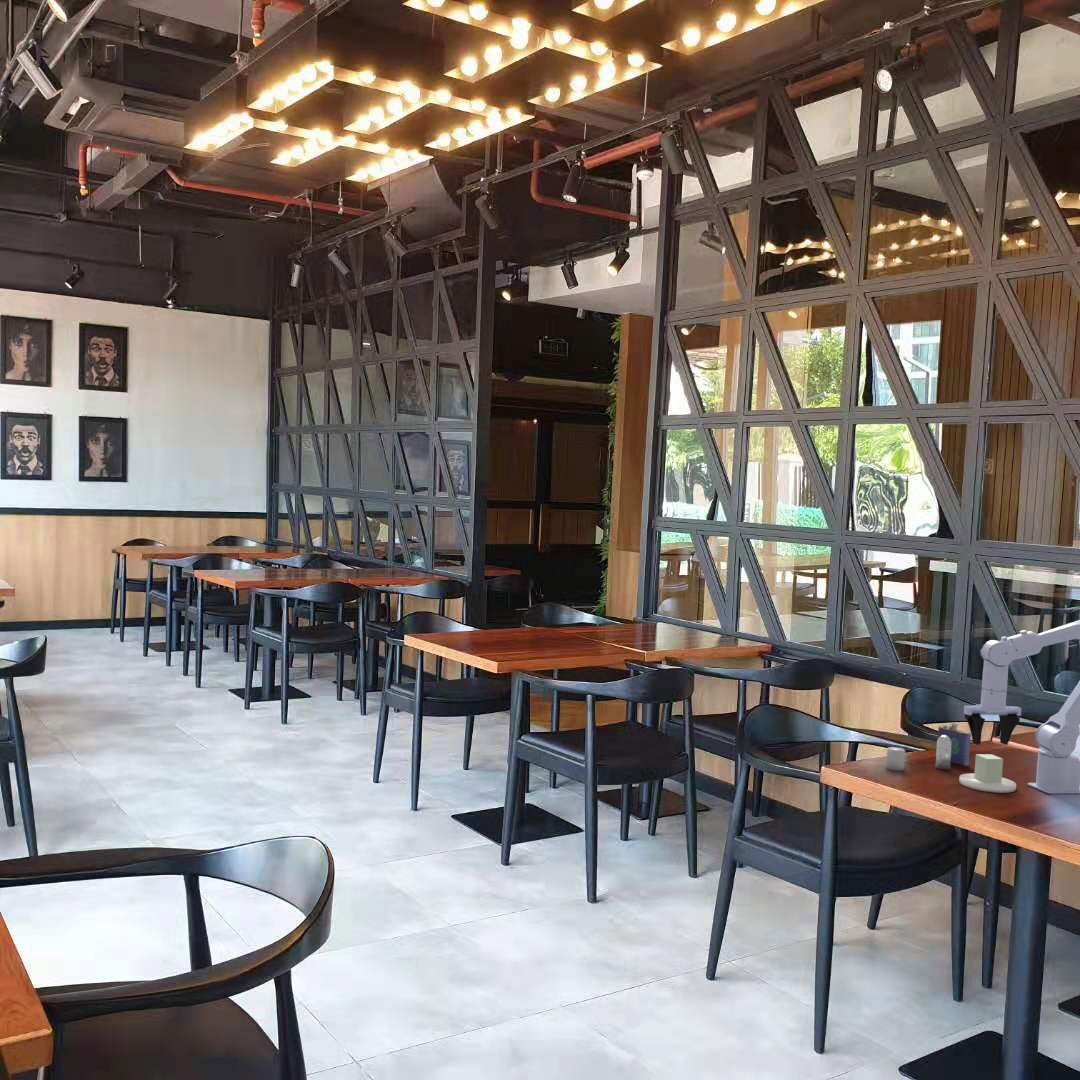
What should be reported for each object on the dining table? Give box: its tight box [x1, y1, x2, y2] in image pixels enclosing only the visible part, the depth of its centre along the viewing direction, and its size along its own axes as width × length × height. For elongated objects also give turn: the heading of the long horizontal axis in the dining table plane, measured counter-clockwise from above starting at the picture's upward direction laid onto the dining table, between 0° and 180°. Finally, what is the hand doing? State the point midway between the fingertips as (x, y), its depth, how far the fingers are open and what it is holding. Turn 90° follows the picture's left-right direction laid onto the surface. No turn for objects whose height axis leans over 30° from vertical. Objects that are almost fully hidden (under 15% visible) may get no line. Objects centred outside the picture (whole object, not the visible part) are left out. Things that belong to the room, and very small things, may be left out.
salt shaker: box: [935, 735, 952, 770], centre depth 283 cm, size 4×4×9 cm
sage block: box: [974, 753, 1004, 783], centre depth 267 cm, size 4×4×6 cm
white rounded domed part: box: [885, 746, 906, 772], centre depth 279 cm, size 4×4×5 cm
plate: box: [958, 772, 1017, 794], centre depth 267 cm, size 13×13×1 cm
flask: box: [937, 722, 972, 767], centre depth 289 cm, size 9×3×11 cm, turn 37°
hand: (990, 743), depth 267 cm, fingers open, 7 cm apart
